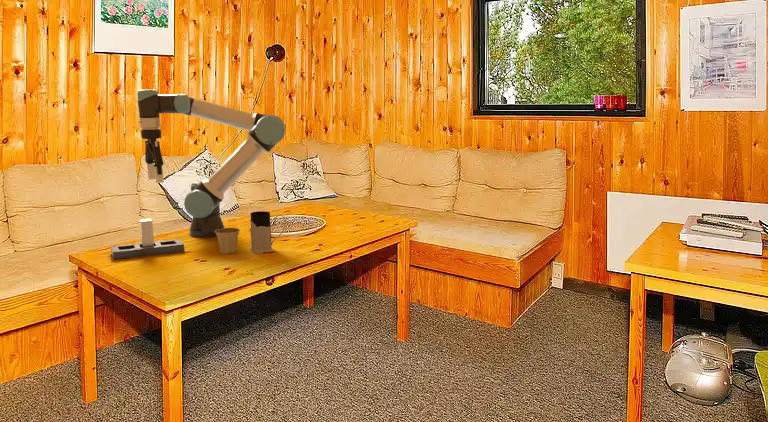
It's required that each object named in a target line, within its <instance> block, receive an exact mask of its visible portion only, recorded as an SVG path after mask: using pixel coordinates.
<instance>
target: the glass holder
mask: <svg viewBox="0 0 768 422" xmlns="http://www.w3.org/2000/svg"><path fill="white" fill-rule="evenodd" d="M278 217H283V219H284V222H283V223H284V225H283V228H282V230H281V232H280V233H279V234H278V235H277V236H276V237H275V238H273V240H272V227H275V225H276V220H277V218H278ZM286 224H287V221H286V218H285V216H284V215H282V214H278V215H276V216H275V217H274V220H273V224H272V225H271V212H270V211H266V210H265V211H263V210H262V211H260V210H259V211H252V212H250V245H251V246H250V252H251V253H255V254H264V253H263V252H266V253H270V252H272V251H273V250H274V249H273V243H274V242H275V241H276V240H277V239H278V238H279V237H280V236H281V235H282V234H283V232H284V230H285V228H286ZM269 251H270V252H269Z"/></svg>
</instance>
